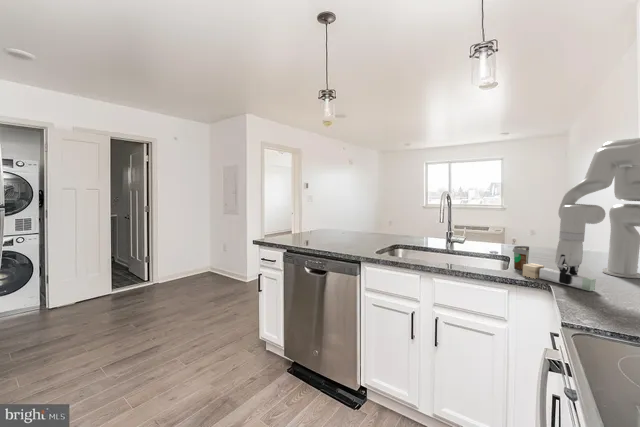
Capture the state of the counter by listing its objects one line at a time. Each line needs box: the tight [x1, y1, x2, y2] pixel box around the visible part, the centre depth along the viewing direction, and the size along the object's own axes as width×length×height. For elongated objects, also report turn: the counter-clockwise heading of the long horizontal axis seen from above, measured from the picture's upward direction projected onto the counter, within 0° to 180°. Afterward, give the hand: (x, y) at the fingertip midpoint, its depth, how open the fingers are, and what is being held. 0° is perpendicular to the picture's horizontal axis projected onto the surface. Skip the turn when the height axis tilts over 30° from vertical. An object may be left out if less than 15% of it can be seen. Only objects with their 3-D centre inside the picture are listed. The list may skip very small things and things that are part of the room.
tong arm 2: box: [543, 267, 597, 292], centre depth 121 cm, size 18×2×4 cm, turn 24°
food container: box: [512, 245, 530, 272], centre depth 146 cm, size 12×6×10 cm, turn 141°
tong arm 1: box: [538, 268, 594, 292], centre depth 120 cm, size 18×2×4 cm, turn 25°
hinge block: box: [521, 263, 545, 280], centre depth 132 cm, size 6×5×5 cm
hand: (567, 282), depth 120 cm, fingers open, 4 cm apart
